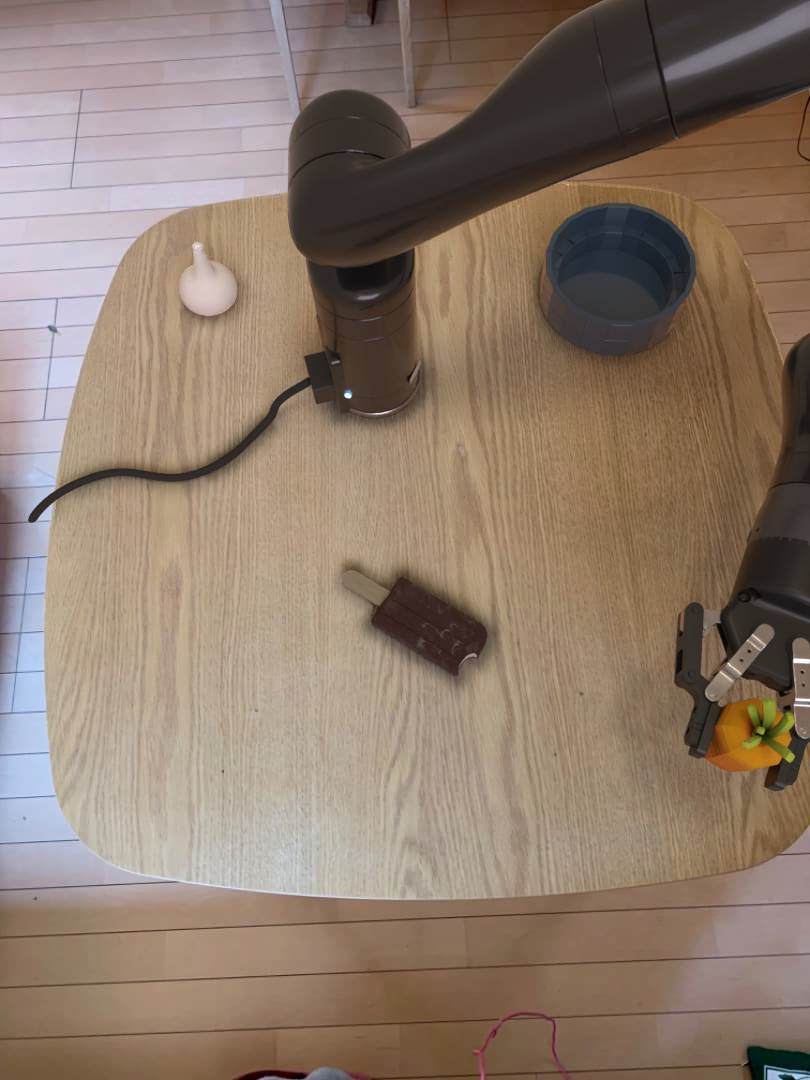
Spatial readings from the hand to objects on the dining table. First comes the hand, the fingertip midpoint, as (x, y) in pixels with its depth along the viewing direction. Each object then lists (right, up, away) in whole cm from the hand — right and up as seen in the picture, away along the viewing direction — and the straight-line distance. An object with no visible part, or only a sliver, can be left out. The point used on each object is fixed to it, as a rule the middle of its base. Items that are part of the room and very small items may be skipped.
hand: (735, 771), depth 59 cm
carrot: (+1, -1, +9) cm, 9 cm away
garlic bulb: (-44, +43, +35) cm, 71 cm away
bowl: (-1, +42, +34) cm, 54 cm away
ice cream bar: (-22, +9, +22) cm, 33 cm away
